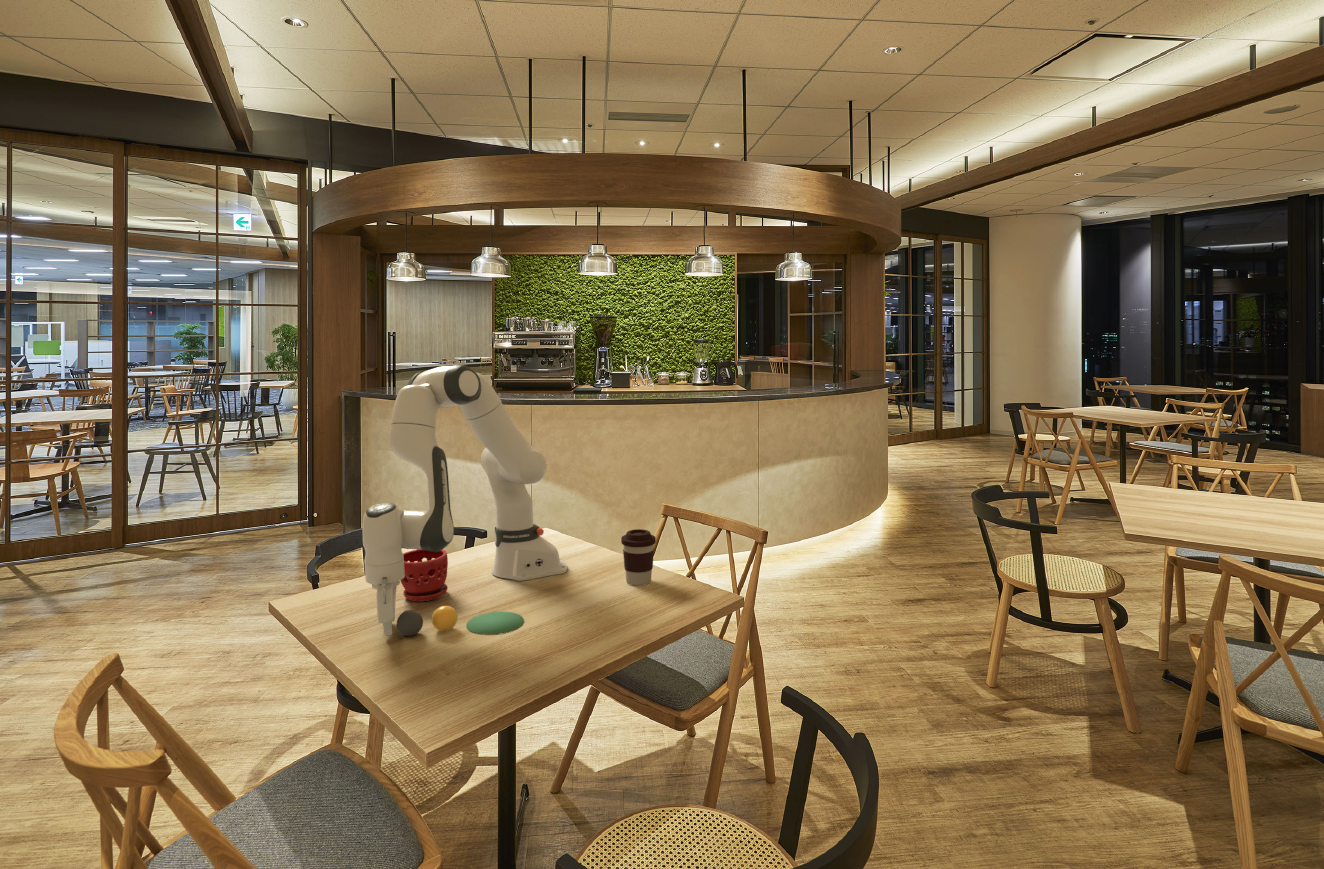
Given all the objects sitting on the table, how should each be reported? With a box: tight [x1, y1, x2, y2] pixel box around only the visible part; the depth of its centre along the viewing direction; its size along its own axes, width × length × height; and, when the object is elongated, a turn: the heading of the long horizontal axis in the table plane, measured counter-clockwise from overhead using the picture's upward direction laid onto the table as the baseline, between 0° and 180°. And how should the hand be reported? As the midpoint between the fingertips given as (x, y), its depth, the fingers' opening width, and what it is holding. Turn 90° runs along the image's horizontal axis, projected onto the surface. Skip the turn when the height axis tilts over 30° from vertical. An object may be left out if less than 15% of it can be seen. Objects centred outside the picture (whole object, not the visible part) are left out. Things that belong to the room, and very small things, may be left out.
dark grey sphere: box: [396, 609, 424, 637], centre depth 170 cm, size 6×6×6 cm
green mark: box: [465, 611, 525, 635], centre depth 177 cm, size 14×14×1 cm
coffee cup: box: [620, 528, 657, 587], centre depth 206 cm, size 10×10×15 cm
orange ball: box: [431, 605, 459, 632], centre depth 172 cm, size 6×6×6 cm
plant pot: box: [400, 549, 449, 602], centre depth 195 cm, size 13×13×12 cm
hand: (388, 626), depth 172 cm, fingers open, 8 cm apart
